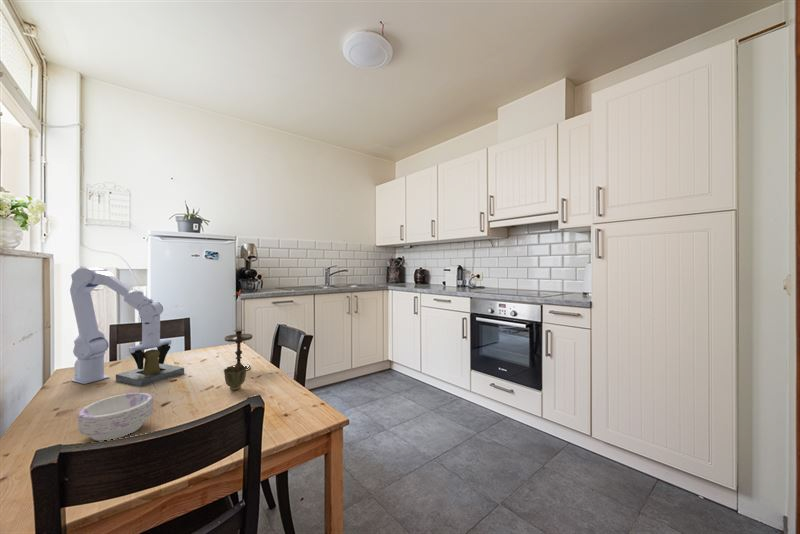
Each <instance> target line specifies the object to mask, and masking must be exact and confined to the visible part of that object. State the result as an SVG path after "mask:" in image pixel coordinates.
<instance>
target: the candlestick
mask: <svg viewBox="0 0 800 534" xmlns="http://www.w3.org/2000/svg"><path fill="white" fill-rule="evenodd" d="M241 293H242V290H241V289H239V291H238V294H237V296H238V297H237V299H236V320H235V321H236V322H235V323H236V326H235V327H236V329H235V330H233V332H235V333H236V334H230V335H227V336H224V341H225V342H228V343H231V342H232V343H234V342H235V343H236V351H235V352H234V353H235V355H236V357H235V359H236V364H235V365H234V364H233V365H231V366H235V367H236V368H237V365H240V366H241V365H242V364H243V363H241V359H242V358H243V357H242V356H241V355H242V354H243V350H241V343H243V342H244V341H249V340H252V339H253V334H252V333H242V331H244V329H242V299H241V297H240V296H241ZM248 365H249V364H248ZM231 366H229V367H231ZM249 367H250V368H251V365H249ZM249 367H248V368H249ZM248 368H247V369H248Z"/></svg>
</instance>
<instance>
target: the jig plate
mask: <svg viewBox="0 0 800 534" xmlns="http://www.w3.org/2000/svg"><path fill="white" fill-rule="evenodd" d="M159 367H160V372H156V373H153V374H149V375H143V370H144V366H143V369H141V370H140V369H138V368H136V369H131V370H128V371H127V370H126V371H124V372H120V373H116V374H115V381H116V382H119V383H122V384H123V383H124V384H127V385H131V386H135V387H140V388H143V387H146V386H149V385H152V384H155V382H156V383H158V381H159V382H162V381H165V380H169V379H172V378H175V377H178V376H182V375H185V367H183V366H177V365H172V364H166V363H164V364H159ZM181 374H182V375H181ZM171 377H172V378H171ZM168 378H169V379H168ZM161 380H162V381H161ZM142 386H143V387H142Z"/></svg>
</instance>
